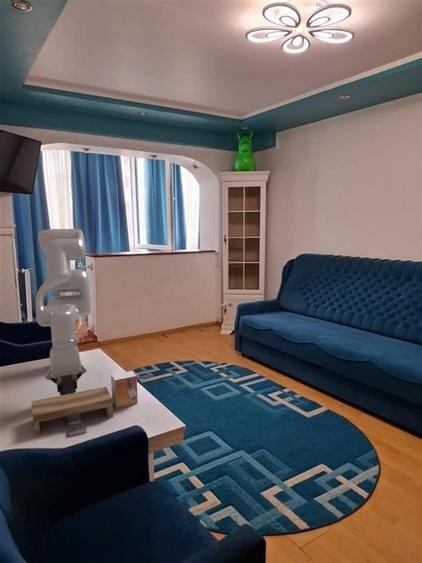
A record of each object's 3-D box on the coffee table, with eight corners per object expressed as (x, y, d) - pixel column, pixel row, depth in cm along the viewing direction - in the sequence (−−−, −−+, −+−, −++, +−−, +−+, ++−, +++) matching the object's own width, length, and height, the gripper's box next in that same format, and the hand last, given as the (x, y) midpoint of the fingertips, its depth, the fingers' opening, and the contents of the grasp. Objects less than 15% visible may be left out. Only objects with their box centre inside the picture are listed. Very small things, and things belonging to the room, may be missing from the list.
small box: (115, 408, 137) (114, 380, 135) (111, 401, 142) (110, 374, 140) (138, 403, 140) (137, 375, 138) (133, 396, 145) (132, 370, 143)
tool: (61, 398, 144) (59, 372, 142) (73, 396, 146) (71, 370, 144) (69, 427, 125) (66, 397, 123) (82, 424, 126) (80, 394, 125)
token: (67, 429, 125) (67, 424, 124) (84, 425, 127) (83, 421, 127) (69, 437, 120) (69, 432, 120) (86, 433, 122) (86, 428, 122)
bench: (33, 419, 130) (31, 401, 129) (106, 403, 140) (105, 386, 139) (34, 435, 121) (32, 415, 120) (113, 416, 131) (112, 398, 130)
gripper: (86, 337, 146) (89, 383, 150) (37, 344, 139) (42, 392, 142) (90, 343, 140) (93, 391, 143) (38, 351, 132) (43, 401, 136)
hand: (67, 391), depth 143 cm, fingers closed on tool, 4 cm apart
